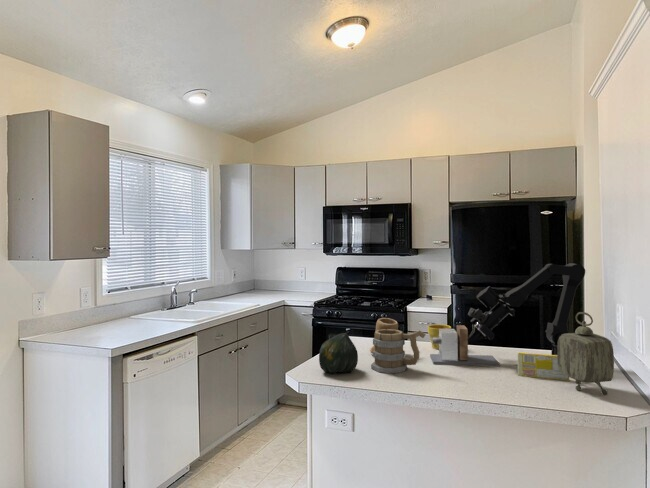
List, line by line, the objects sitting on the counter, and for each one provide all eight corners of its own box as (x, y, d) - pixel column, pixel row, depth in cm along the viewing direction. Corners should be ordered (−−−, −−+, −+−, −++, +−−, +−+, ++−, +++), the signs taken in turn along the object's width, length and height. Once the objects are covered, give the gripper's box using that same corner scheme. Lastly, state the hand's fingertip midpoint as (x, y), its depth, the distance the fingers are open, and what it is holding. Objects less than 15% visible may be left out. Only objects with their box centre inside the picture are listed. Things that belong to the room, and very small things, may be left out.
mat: (492, 357, 184) (492, 355, 184) (499, 365, 172) (499, 363, 172) (430, 356, 187) (430, 354, 187) (433, 364, 175) (433, 361, 175)
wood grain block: (464, 355, 183) (464, 325, 183) (467, 360, 175) (467, 329, 175) (431, 354, 185) (431, 324, 185) (434, 359, 177) (433, 328, 177)
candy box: (568, 379, 155) (568, 355, 155) (569, 381, 153) (569, 357, 153) (517, 374, 162) (517, 351, 162) (517, 375, 160) (517, 352, 160)
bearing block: (454, 355, 184) (453, 328, 184) (457, 361, 175) (457, 333, 175) (439, 355, 185) (438, 328, 185) (441, 360, 176) (441, 333, 176)
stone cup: (395, 358, 185) (395, 322, 185) (367, 356, 189) (367, 320, 189) (401, 349, 199) (401, 316, 199) (375, 348, 203) (375, 315, 203)
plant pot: (426, 349, 199) (425, 327, 199) (429, 344, 209) (429, 323, 209) (450, 351, 195) (449, 329, 195) (452, 346, 205) (452, 325, 205)
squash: (305, 355, 169) (325, 329, 162) (332, 350, 179) (351, 325, 173) (325, 387, 161) (347, 360, 155) (352, 379, 172) (373, 354, 166)
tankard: (368, 371, 166) (368, 331, 166) (376, 362, 178) (376, 325, 178) (423, 376, 159) (422, 334, 159) (427, 367, 171) (427, 328, 171)
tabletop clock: (614, 396, 137) (613, 315, 137) (589, 399, 135) (588, 316, 135) (578, 382, 151) (577, 308, 151) (555, 384, 150) (554, 309, 149)
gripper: (475, 298, 188) (448, 324, 189) (485, 304, 169) (455, 332, 171) (495, 317, 187) (467, 343, 188) (507, 325, 168) (477, 354, 170)
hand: (466, 342), depth 179 cm, fingers closed, pressing on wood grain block
